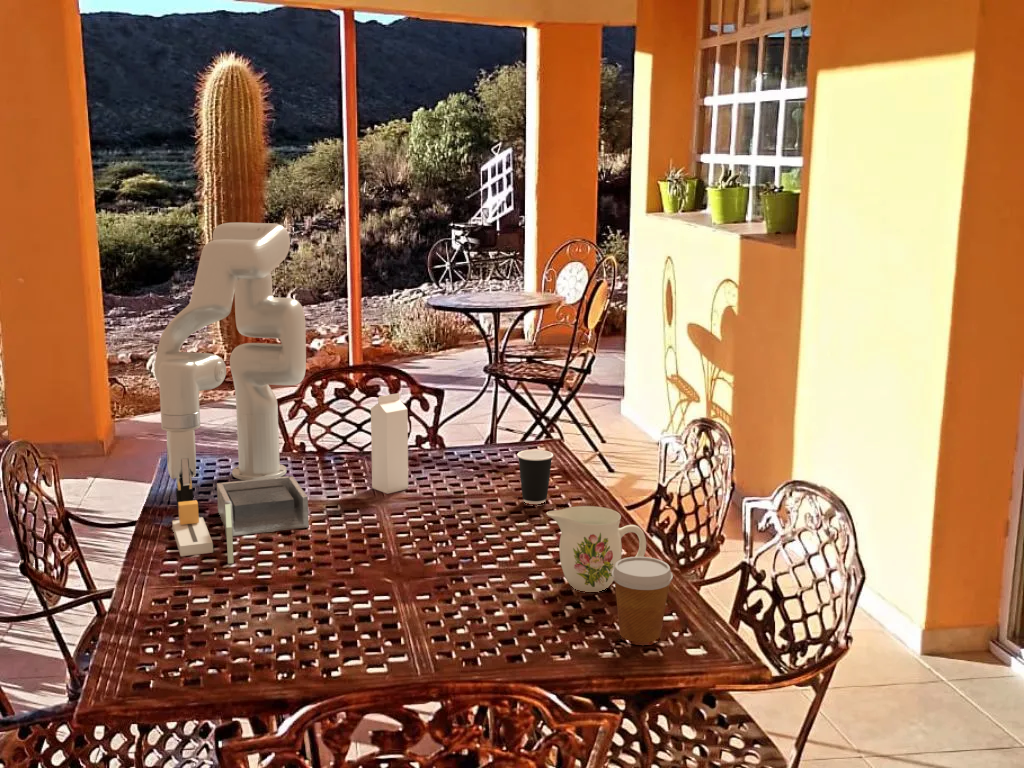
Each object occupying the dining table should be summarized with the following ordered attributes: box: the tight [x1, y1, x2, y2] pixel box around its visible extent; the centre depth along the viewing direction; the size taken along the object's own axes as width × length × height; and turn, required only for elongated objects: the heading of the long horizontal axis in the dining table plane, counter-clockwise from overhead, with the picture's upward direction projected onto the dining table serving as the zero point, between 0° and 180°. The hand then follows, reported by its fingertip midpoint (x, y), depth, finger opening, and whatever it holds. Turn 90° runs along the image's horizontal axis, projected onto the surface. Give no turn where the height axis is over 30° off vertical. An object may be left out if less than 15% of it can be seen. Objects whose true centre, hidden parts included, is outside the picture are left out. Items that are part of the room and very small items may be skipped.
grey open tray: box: [216, 475, 309, 537], centre depth 226 cm, size 16×16×6 cm
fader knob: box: [177, 499, 200, 525], centre depth 217 cm, size 2×4×4 cm, turn 112°
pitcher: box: [546, 505, 647, 593], centre depth 192 cm, size 11×18×14 cm, turn 97°
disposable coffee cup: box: [612, 556, 674, 642], centre depth 171 cm, size 10×10×12 cm
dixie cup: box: [516, 449, 554, 504], centre depth 239 cm, size 8×8×11 cm
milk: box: [370, 392, 409, 494], centre depth 247 cm, size 6×6×22 cm
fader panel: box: [171, 516, 214, 557], centre depth 213 cm, size 16×6×2 cm, turn 22°
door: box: [224, 501, 235, 564], centre depth 208 cm, size 1×16×7 cm, turn 15°
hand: (185, 507), depth 223 cm, fingers closed
